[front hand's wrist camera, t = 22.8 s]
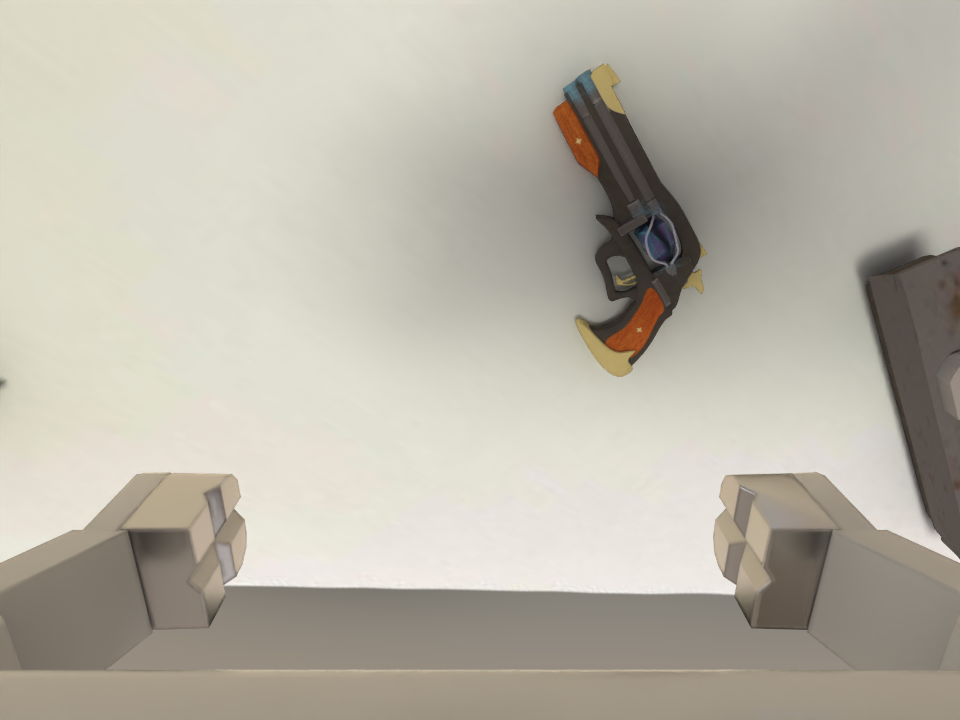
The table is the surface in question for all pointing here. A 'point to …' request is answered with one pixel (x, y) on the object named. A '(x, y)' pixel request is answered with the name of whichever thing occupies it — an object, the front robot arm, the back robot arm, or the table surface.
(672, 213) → the toy gun
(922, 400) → the toy
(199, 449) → the table surface
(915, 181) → the table surface
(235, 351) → the table surface
